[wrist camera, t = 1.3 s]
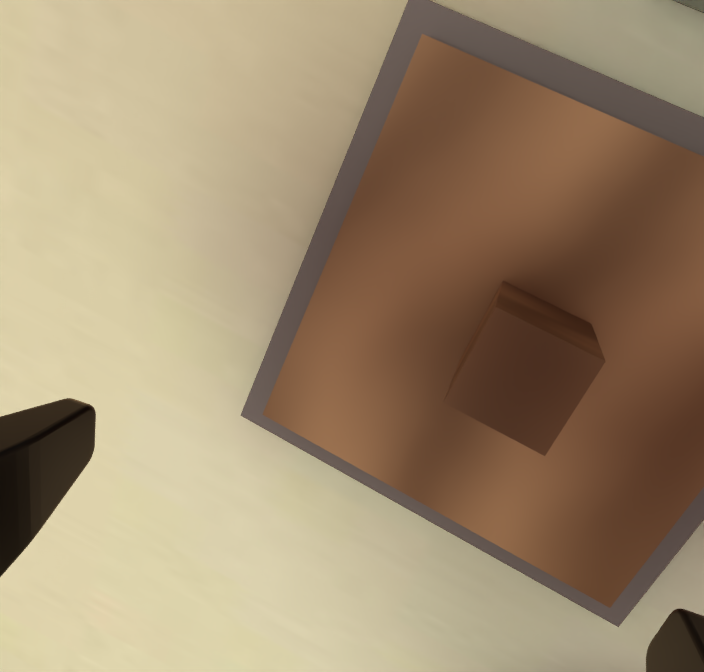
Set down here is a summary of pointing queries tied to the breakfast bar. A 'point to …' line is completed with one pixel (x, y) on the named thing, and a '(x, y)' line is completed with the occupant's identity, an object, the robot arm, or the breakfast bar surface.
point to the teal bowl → (693, 4)
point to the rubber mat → (414, 22)
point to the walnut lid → (515, 322)
